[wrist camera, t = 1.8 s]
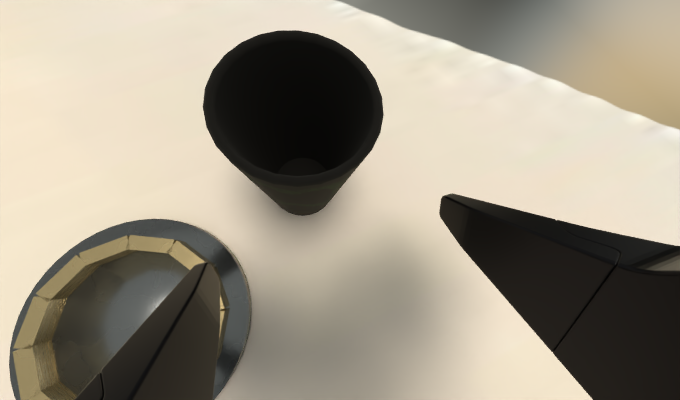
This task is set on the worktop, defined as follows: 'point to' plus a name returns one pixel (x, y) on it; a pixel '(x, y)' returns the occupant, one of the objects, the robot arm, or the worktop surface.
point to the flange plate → (118, 304)
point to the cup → (293, 115)
